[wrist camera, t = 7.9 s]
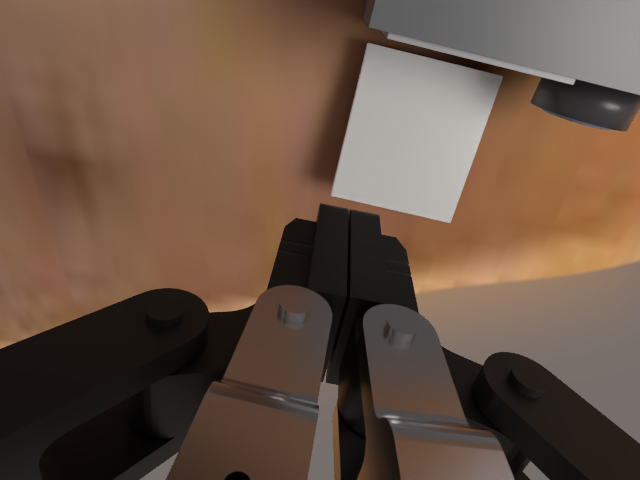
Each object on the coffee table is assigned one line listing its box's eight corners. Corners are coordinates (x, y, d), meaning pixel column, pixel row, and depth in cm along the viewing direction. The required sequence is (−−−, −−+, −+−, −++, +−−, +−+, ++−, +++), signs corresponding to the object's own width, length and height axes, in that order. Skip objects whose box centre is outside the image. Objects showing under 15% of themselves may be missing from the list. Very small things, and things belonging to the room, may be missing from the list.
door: (368, 42, 21) (330, 195, 24) (503, 76, 21) (450, 222, 24) (366, 44, 22) (331, 189, 25) (493, 76, 23) (444, 215, 25)
